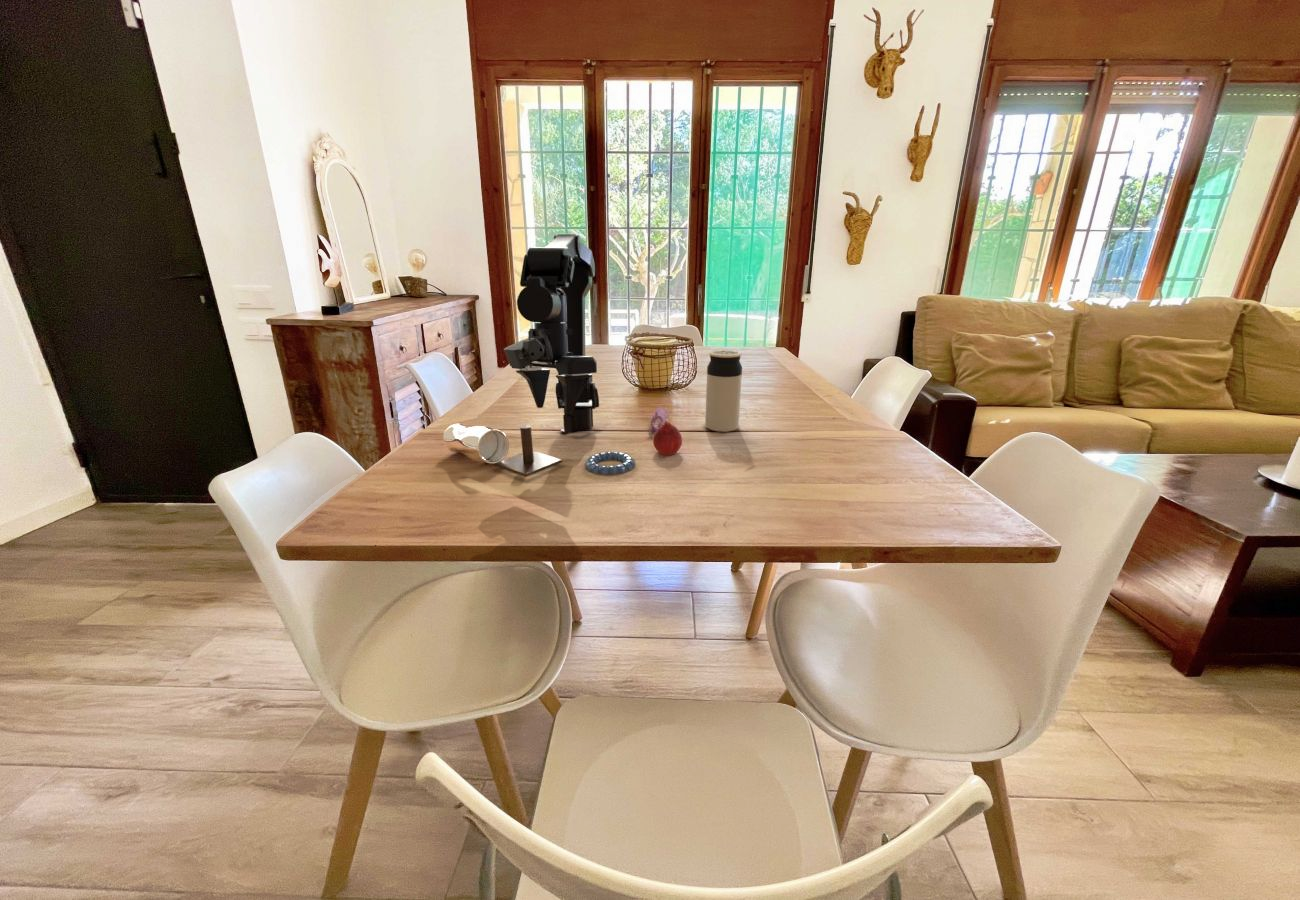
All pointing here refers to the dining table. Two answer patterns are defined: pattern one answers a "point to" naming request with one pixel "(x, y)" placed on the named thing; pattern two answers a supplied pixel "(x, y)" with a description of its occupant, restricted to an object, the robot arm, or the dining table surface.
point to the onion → (667, 439)
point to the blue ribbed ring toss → (609, 470)
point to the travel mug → (723, 390)
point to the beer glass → (477, 442)
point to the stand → (528, 457)
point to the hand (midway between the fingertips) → (554, 410)
